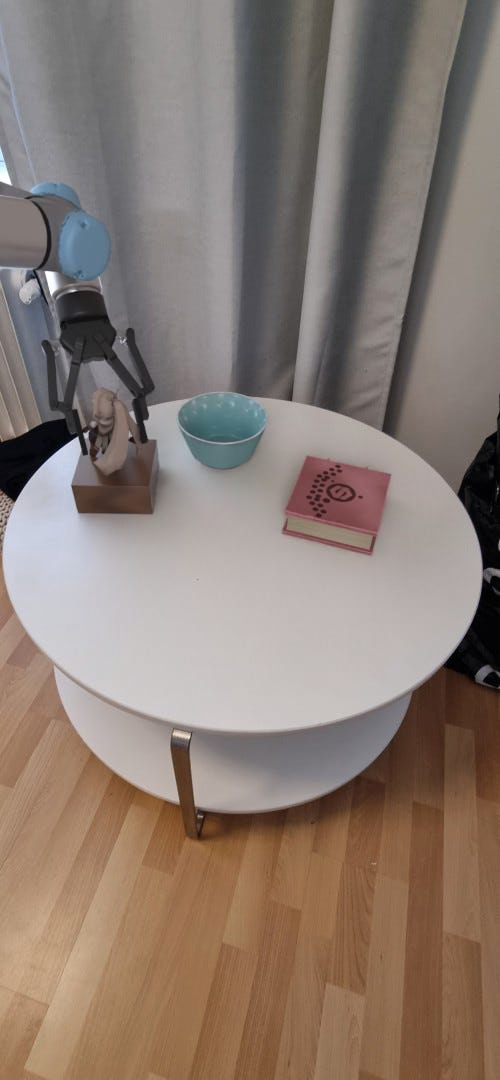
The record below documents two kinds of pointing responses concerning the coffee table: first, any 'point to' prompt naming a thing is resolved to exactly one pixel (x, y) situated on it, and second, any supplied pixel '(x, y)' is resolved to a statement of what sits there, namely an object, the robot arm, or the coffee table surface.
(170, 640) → the coffee table surface
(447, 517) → the coffee table surface
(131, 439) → the toy
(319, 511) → the book
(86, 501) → the walnut block
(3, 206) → the robot arm
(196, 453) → the bowl
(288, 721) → the coffee table surface
